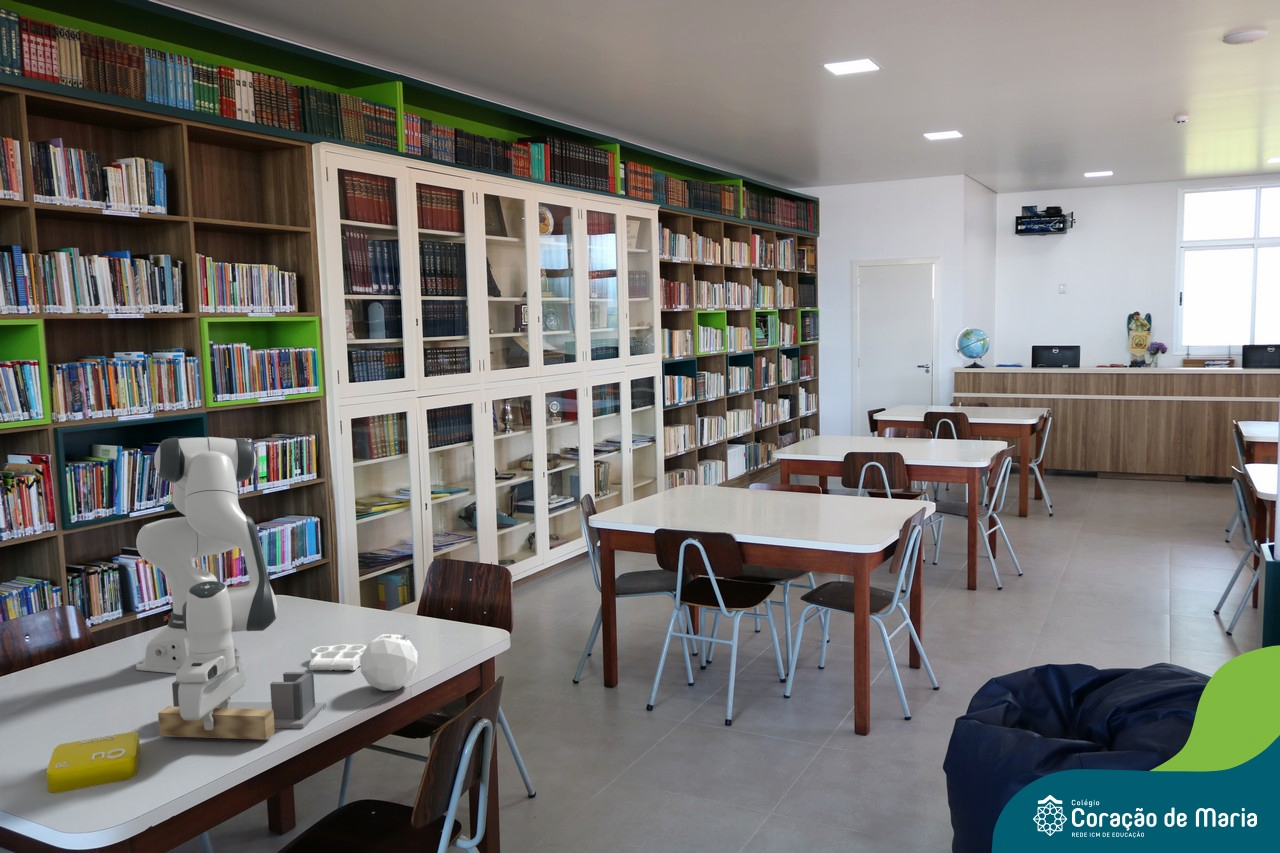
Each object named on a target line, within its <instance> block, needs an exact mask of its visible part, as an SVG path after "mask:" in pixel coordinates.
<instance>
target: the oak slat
mask: <svg viewBox="0 0 1280 853" xmlns="http://www.w3.org/2000/svg"><path fill="white" fill-rule="evenodd" d="M211 715H212V717H213V719H216V727H215V728H213V729H212V730H205V728H204V722H203V720H202V719H199V720H184V719H183V718H182V717H181V715H180V710H179V707H174V705H173V706H171V705H170V706H167V707H165V708H163V709H162V710H160V711H159V712H158V713H157V718H158V730H159V736H160V737H163V736H164V737H165V736H166V737H188V738H214V739H215V738H216V739H217V738H218V739H236V740H237V739H239V740H240V739H241V740H268V739H269V738H270V737H271V736H273V735H274V734H275V729H276V728H274V713H273V710H265V709H234V708H214V709H213V714H211Z"/></svg>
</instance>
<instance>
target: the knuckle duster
mask: <svg viewBox="0 0 1280 853" xmlns="http://www.w3.org/2000/svg"><path fill="white" fill-rule="evenodd" d="M367 646H368V645H365V644H359V643H357V644H345V643H343V644H335V645H321V646H316V647H314V648H312V649H310V657H311V658H310V659H311V660H310V662H309V666H308V668H309V670H310V671H313V670H316V671H332V670H335V671H343V670H355V669H356V668H357V667H358V666H359V665H360V664H361V656H362V654H363V652H364V651H365V649H366V647H367Z"/></svg>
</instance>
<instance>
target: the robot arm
mask: <svg viewBox="0 0 1280 853" xmlns="http://www.w3.org/2000/svg"><path fill="white" fill-rule="evenodd" d="M153 458H154V459H153V461H154V462H153V463H154V468H155V470H156V472H157V476H158V477H159V478H160V479H161V480H163V481H164V482H169V483H173V488H172V496H171V498H172V499H171V501H172V504H173V506H174V508H175V509H176V510H177V511H178V512H179V513H180V514H182V515H184V516H179V517H172V518H164V519H159V520H155V521H152V522H150V523H147V524H144V525H143V526H142V527H141V529H139V531H138V533H137V536H136V541H135V542H136V543H135V544H136V549H137V552H138V554H139V555H140V556H141V558H142V559H143V560H145V561H146V562H148V563H151V564H153V565H154V566H155V567H157V568H158V569H159V570H160V571H161V572H162V573H163V575H164V576H165V577H166V580H167V581H168V583H169V588H170V594H171V600H172V611H171V612H169V613H167V615H165V616H163V618H164V619H163V621H164V622H166V621H167V620H168V622H167V626H165V627H164V628H163V629H162V630H161V631H160V632H159V633H158V634H156V635H155V636H154V637H153V638H152V639H150V640H149V641H148V643H147V644H146V648H145V654H144V658H142V659H140V660H139V661H138V662H137V663H136V665H135V670H136V671H143V672H144V671H145V672H157V673H168V674H169V673H170V674H175V681H177V682H181V683H180V685H179V689H178V700H179V710H180V715H181V717H182V718H183V719H184V720H199V719H202V720H203V722H204V728H205V730H212V729H213V728H215V727H216V719H213V717H212V715H211V714H213V709H214V708H215V707H217V706H218V705H219V708H229V705H230V702H232V700H231V697H232V696H233V695H234V694H236V693H237V692H238V691H239V690H241V689H243V688H244V686H245V683H246V671H245V666H244V665H245V664H244V660H243V658H242V656H240V651H239V650H238V648H236V647H235V640H234V638H233V635H232V633H237V632H245V631H246V632H263V631H265V630H266V629H267V628H269V627H271V625H272V624H273V623H274V622H275V621H276V619H277V614H278V602H277V598H276V595H275V593H274V590H273V588H272V586H271V584H270V580H269V576H268V575H269V574H268V569H267V565H266V561H265V557H264V556H265V555H264V552H263V547H262V544H261V540H260V538H259V535H258V528H257V526H256V524H255V521H254V520H253V518H252V517H251V516H248V515H246V513H244V512H243V511H242V508H241V507H240V504H239V492H238V483H240V482H245V481H248V480H249V479H250V478H251V477H252V476H253V472H255V469H256V466H257V455H256V451H255V449H254V446H253V444H252V443H251V442H250V441H248V440H246V439H240V438H235V439H233V438H226V437H216V436H215V437H214V436H207V437H185V438H178V437H173V438H172V437H171V438H167V439H163V440H162V441H161V442H160V443H159V444H158V447H157V449H156V451H155V453H154V457H153ZM236 548H238V549H240V550H241V551H242V553H243V556H244V562H245V565H246V569H247V574H248V577H249V578H248V580H249V584H247V585H245V586H239V587H237V586H236V587H227V585H226V584H225V583H224V582H221V581H218V579H217V577H216V576H215V575H214V574H213V573H212V572H210V571H207V570H205V569H201V568H198V567H194V565H193V560H192V559H195V558H202V557H207V556H213V555H219V554H223V553H226V552H229V551H232V550H234V549H236Z"/></svg>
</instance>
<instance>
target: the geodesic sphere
mask: <svg viewBox="0 0 1280 853" xmlns="http://www.w3.org/2000/svg"><path fill="white" fill-rule="evenodd" d="M409 636H410V634H405V635H400V634H391V633H390V634H387V633H386V634H384V633H382V634H380V635H379V636H377V637H376V638H374V639H373V640H372V641H370V642H369V643H367V645H366V646H367V647H366V649H365V651H364V652H363V654H362V656H361V666H360V673H361V674H362V676H363V677H364V680H366V682H367V684H368V686H369V685H370V686H372V687H373V688H376V689H378V690H380V689H381V691H385V692H386V691H396V690H395V689H398V688H399V689H401V688H402V687H404V686H405V685H406V684H408V683H409V682H410V681H411V680H412V679H413V677H414V675H415V674H416V671H417V669H418V660H419V659H418V658H419V655H418V654H419V652H418V651H417V649H416V648H415V646H414V645H413V644H412V641H410V640H409V639H410V637H409ZM399 689H398V690H399Z"/></svg>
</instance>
